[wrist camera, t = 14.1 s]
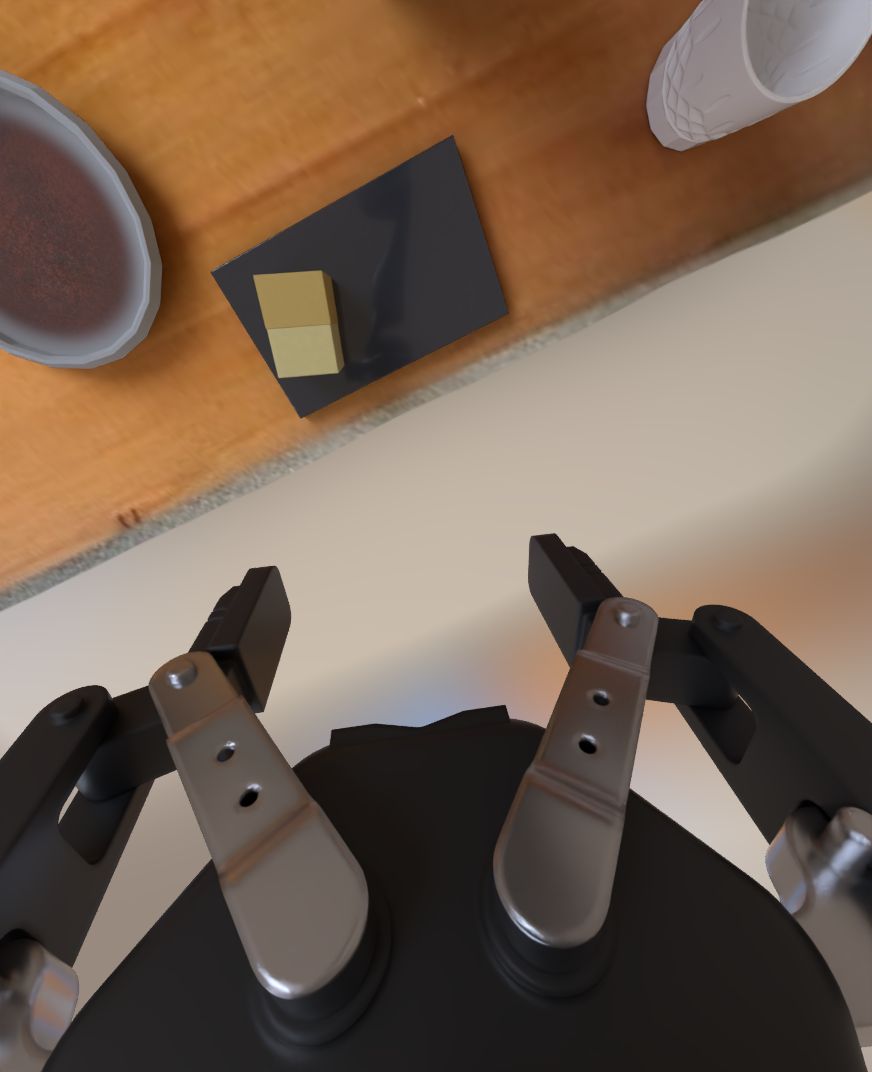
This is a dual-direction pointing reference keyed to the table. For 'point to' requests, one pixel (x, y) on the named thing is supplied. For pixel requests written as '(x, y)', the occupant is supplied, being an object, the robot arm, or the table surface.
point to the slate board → (381, 273)
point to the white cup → (750, 64)
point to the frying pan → (69, 238)
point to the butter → (301, 322)
